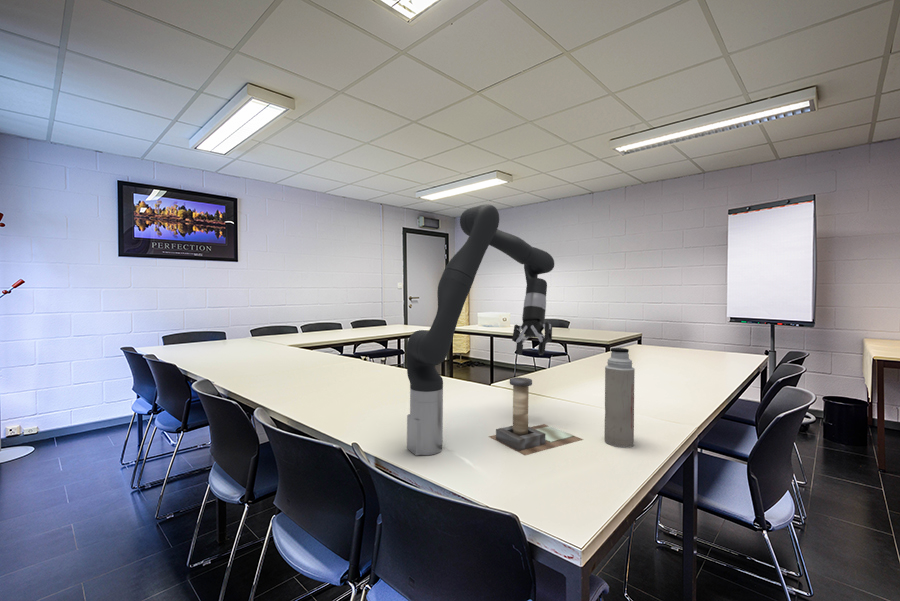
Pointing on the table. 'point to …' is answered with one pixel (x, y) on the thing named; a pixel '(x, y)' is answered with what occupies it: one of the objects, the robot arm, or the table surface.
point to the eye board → (534, 439)
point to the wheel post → (520, 404)
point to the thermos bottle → (619, 399)
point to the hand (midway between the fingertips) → (529, 354)
